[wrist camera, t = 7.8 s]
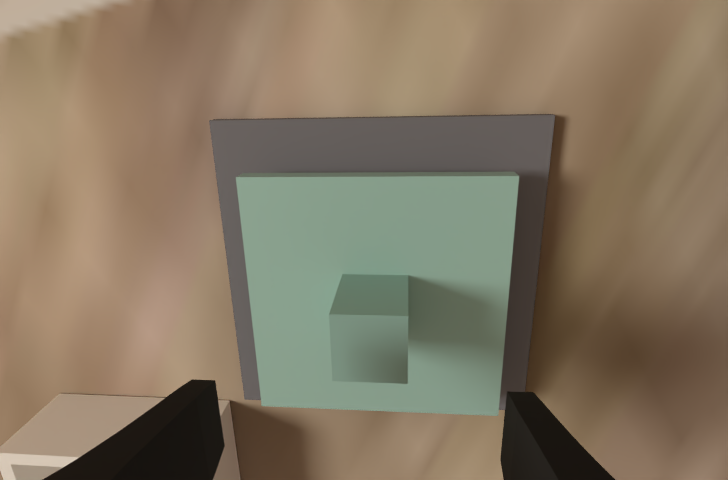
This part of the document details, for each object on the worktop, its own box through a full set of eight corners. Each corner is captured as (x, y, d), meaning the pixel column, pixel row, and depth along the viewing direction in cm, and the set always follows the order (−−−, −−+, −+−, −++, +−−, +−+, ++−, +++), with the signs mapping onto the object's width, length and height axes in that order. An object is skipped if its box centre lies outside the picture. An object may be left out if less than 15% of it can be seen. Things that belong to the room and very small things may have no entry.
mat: (551, 114, 17) (555, 115, 17) (520, 403, 22) (522, 410, 21) (214, 119, 18) (209, 120, 18) (248, 392, 23) (244, 399, 22)
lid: (508, 166, 18) (545, 198, 13) (490, 388, 21) (514, 478, 16) (251, 168, 19) (198, 198, 14) (273, 380, 22) (236, 463, 17)
